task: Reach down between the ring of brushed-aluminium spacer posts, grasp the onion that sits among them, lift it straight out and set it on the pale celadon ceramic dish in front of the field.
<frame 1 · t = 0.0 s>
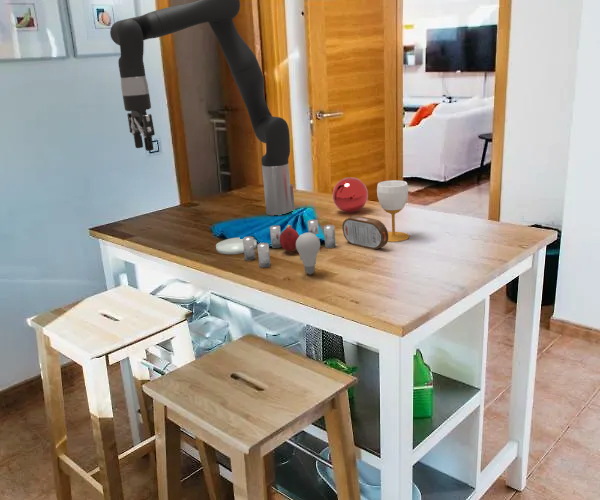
hand: (144, 149, 179), 29 cm above the counter, fingers open, 8 cm apart
onion: (290, 253, 170), on the counter
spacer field: (290, 252, 170), on the counter
tin: (364, 247, 171), on the counter
dish: (236, 247, 178), on the counter
ball: (351, 212, 205), on the counter
cup: (393, 237, 176), on the counter
lightbulb: (310, 275, 153), on the counter
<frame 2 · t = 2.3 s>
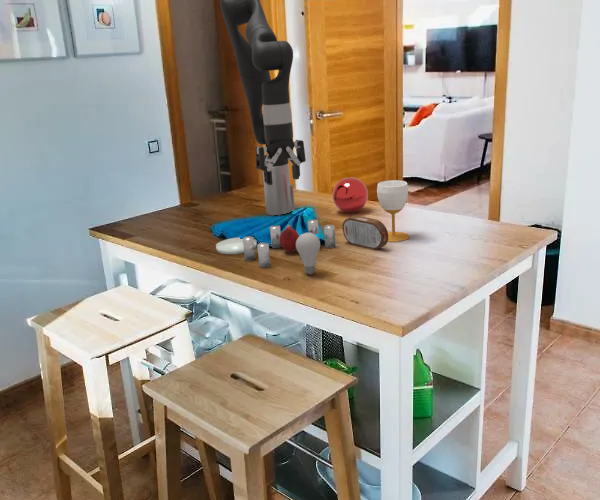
hand: (282, 181, 163), 20 cm above the counter, fingers open, 8 cm apart
nothing on the counter moved.
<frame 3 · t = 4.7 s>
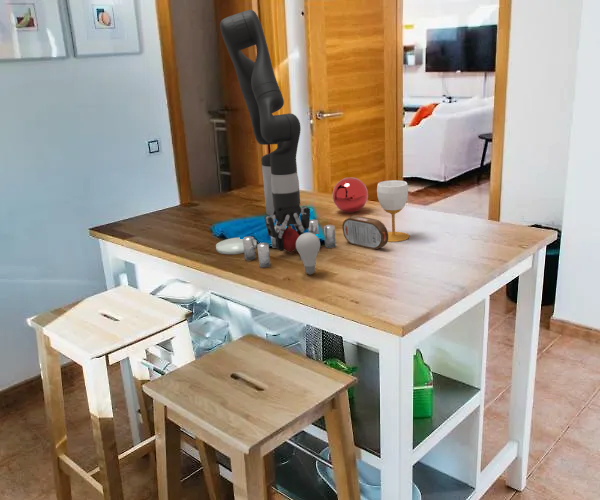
hand: (290, 247, 169), 2 cm above the counter, fingers closed on onion, 6 cm apart
onion: (290, 253, 170), on the counter, touching gripper
everything else where it was.
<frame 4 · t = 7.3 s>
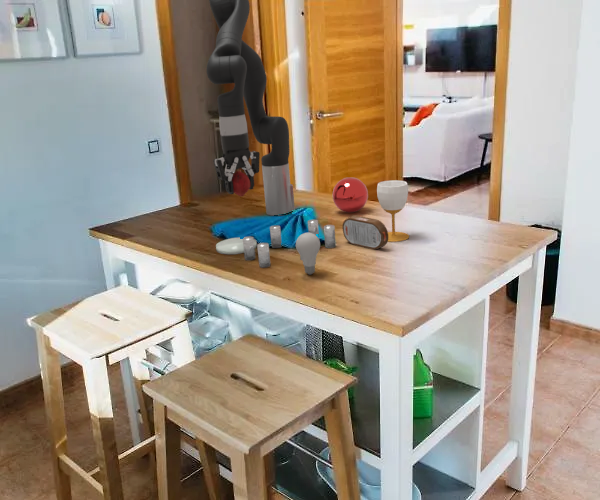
hand: (240, 191, 171), 17 cm above the counter, fingers closed on onion, 6 cm apart
onion: (241, 197, 172), point 15 cm above the counter, touching gripper
everything else where it was.
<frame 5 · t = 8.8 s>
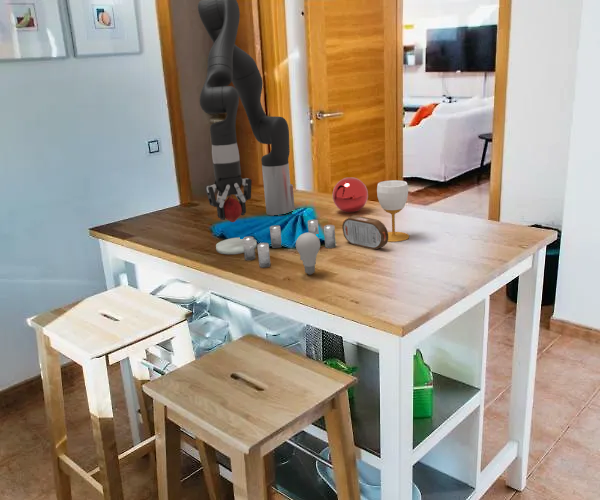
hand: (232, 216, 175), 9 cm above the counter, fingers closed on onion, 6 cm apart
onion: (233, 222, 175), point 8 cm above the counter, touching gripper
everything else where it was.
when the fingers open (4 cm above the counter, at t = 10.1 s): onion drops 2 cm, resting on dish.
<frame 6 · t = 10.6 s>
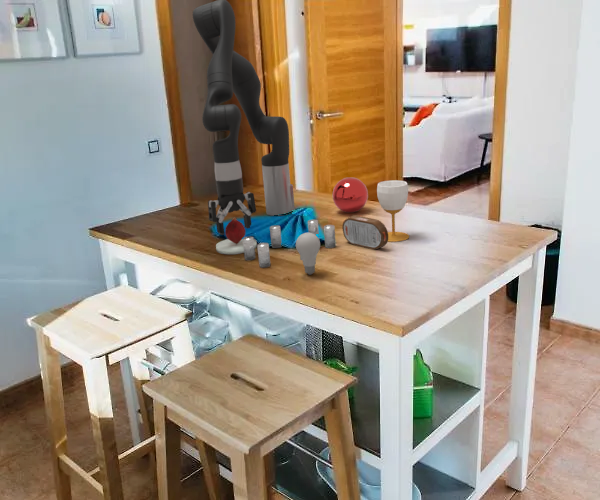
hand: (234, 231, 176), 5 cm above the counter, fingers open, 8 cm apart
onion: (236, 244, 177), point 1 cm above the counter, touching dish
everything else where it was.
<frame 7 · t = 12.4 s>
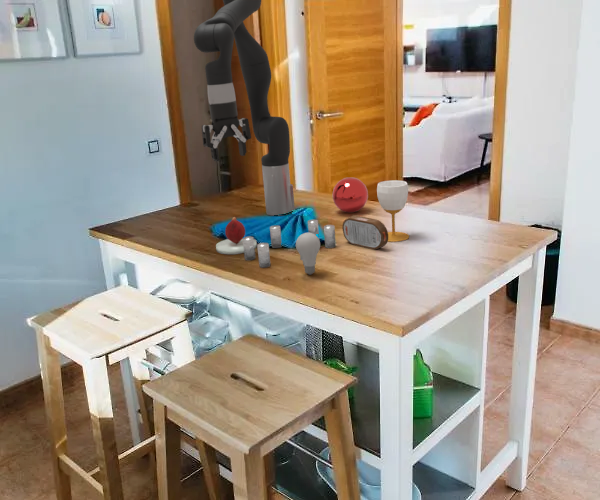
hand: (229, 158, 172), 26 cm above the counter, fingers open, 8 cm apart
nothing on the counter moved.
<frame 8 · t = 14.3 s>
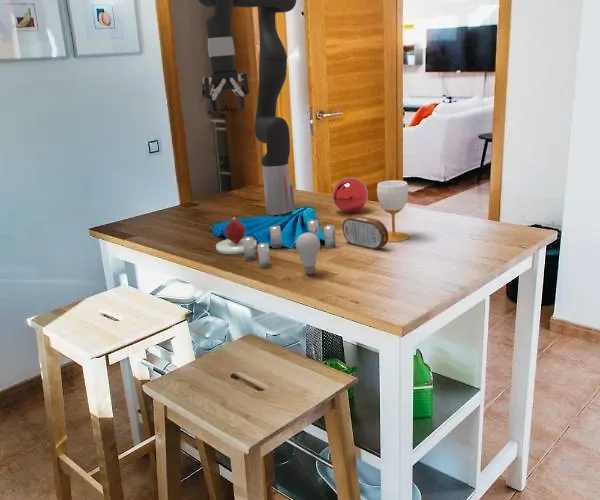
hand: (228, 111, 179), 38 cm above the counter, fingers open, 8 cm apart
nothing on the counter moved.
at the end: onion 0.2 cm from the dish (horizontally); onion point 1.0 cm above the counter; the gripper is holding nothing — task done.
